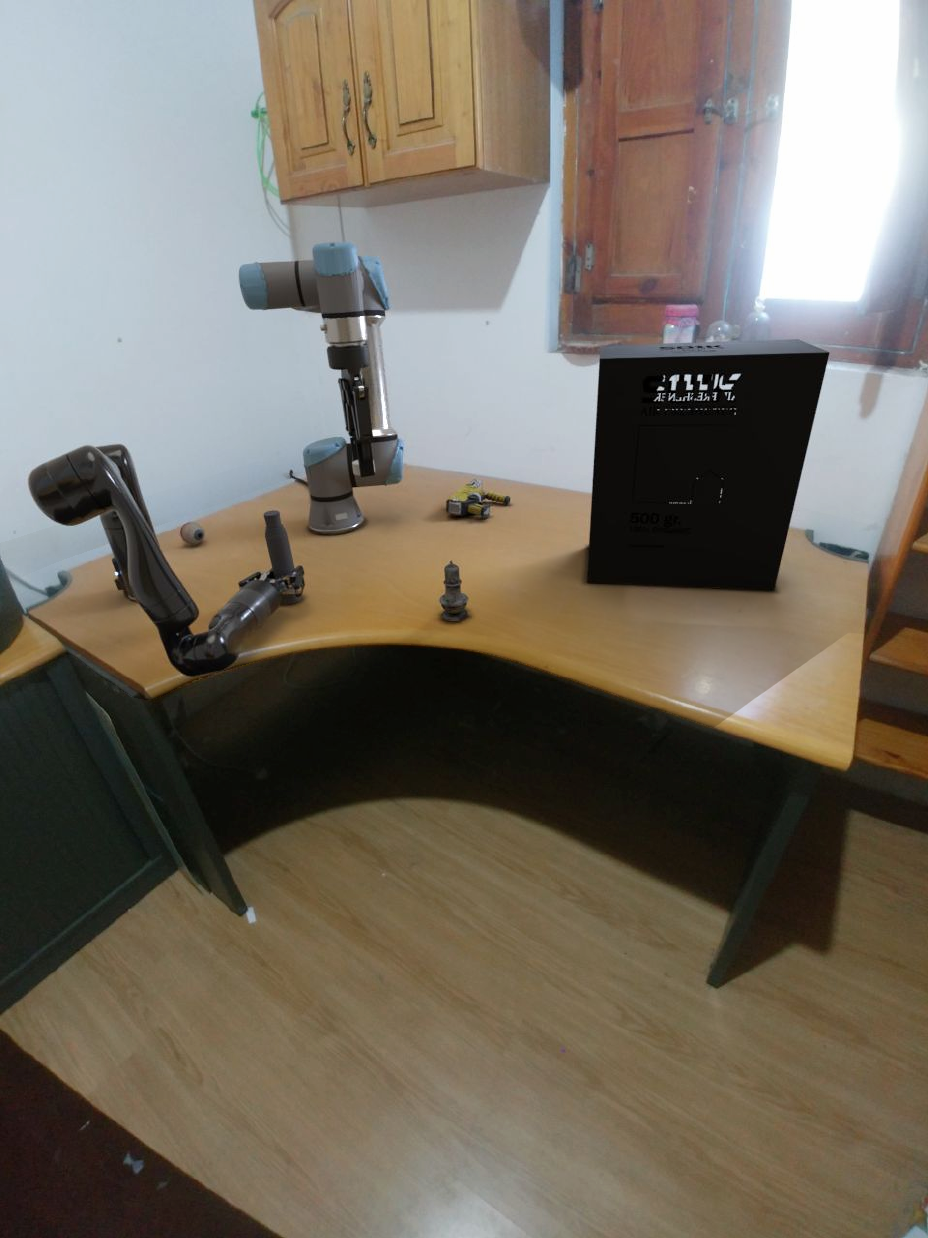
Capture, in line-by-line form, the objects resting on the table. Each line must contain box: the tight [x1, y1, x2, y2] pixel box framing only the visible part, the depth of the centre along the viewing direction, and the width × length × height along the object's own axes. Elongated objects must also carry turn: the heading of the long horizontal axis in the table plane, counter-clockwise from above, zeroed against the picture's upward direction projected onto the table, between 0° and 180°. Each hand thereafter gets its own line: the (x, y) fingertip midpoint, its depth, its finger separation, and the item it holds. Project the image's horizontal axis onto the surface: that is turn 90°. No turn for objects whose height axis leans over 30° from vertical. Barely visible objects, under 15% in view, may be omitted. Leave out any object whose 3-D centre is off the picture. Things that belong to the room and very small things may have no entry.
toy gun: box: [445, 478, 511, 520], centre depth 176 cm, size 5×24×15 cm
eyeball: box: [179, 521, 206, 546], centre depth 161 cm, size 6×6×6 cm
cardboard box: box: [586, 338, 831, 592], centre depth 124 cm, size 38×20×45 cm, turn 78°
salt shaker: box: [438, 560, 469, 622], centre depth 119 cm, size 6×6×12 cm
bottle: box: [262, 509, 302, 606], centre depth 126 cm, size 4×4×20 cm
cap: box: [352, 460, 375, 475], centre depth 119 cm, size 4×4×2 cm
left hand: (290, 568), depth 130 cm, fingers closed on bottle, 4 cm apart
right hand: (364, 472), depth 119 cm, fingers closed on cap, 4 cm apart
